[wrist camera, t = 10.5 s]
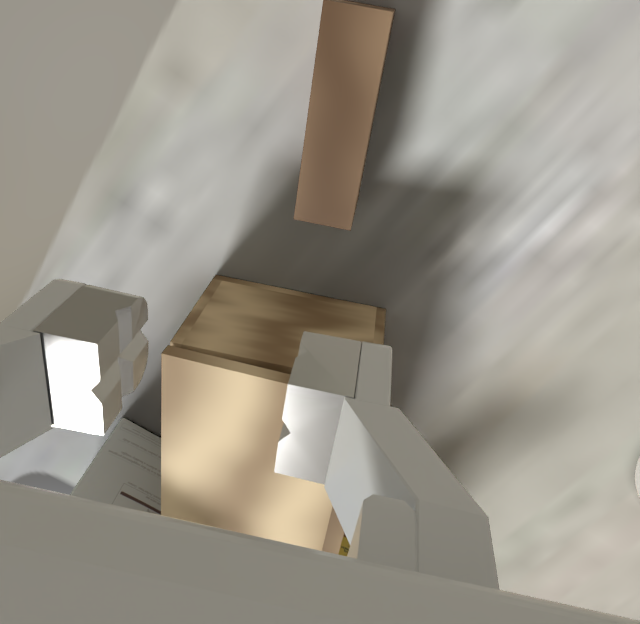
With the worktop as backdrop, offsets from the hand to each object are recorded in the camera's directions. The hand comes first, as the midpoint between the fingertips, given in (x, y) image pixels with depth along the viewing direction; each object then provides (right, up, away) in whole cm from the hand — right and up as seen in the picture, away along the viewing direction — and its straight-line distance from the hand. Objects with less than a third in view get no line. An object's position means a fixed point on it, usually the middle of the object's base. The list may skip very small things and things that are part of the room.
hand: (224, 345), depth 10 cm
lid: (-2, -9, +23) cm, 25 cm away
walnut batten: (+3, +12, +20) cm, 23 cm away
